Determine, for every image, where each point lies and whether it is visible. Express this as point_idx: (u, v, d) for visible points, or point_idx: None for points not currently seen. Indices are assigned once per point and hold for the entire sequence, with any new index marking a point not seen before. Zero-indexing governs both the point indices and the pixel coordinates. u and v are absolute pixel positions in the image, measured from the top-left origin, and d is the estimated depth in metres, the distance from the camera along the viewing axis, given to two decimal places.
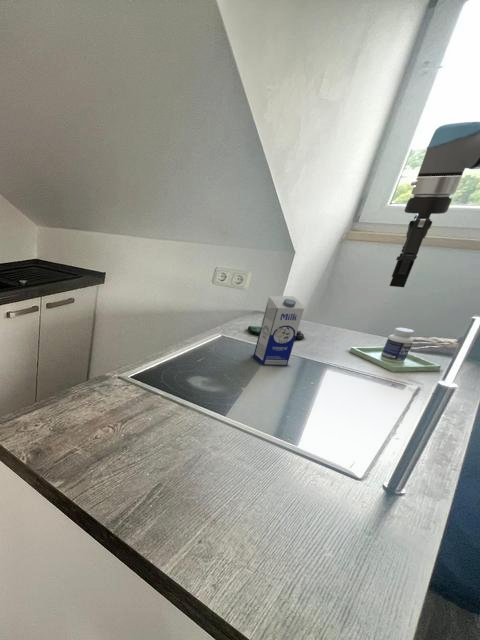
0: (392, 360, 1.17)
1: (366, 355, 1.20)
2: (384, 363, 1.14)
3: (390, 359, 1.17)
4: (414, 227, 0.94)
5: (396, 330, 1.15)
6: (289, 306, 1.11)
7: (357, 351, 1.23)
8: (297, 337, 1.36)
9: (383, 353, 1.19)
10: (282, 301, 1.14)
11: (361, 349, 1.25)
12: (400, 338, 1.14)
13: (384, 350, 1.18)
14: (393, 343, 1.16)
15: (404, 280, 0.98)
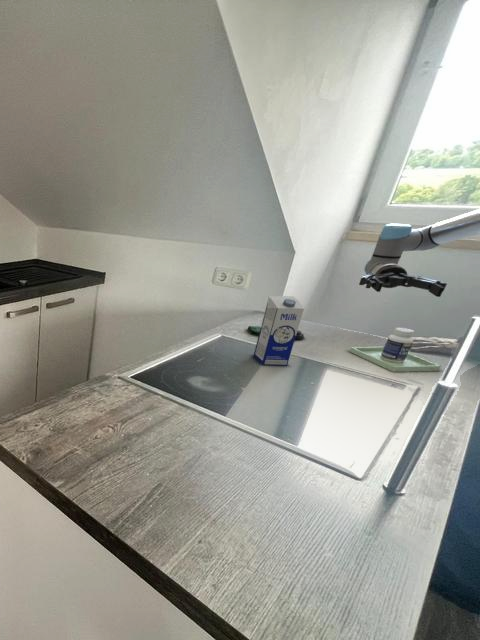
0: (392, 360, 1.17)
1: (366, 355, 1.20)
2: (384, 363, 1.14)
3: (390, 359, 1.17)
4: None
5: (396, 330, 1.15)
6: (289, 306, 1.11)
7: (357, 351, 1.23)
8: (297, 337, 1.36)
9: (383, 353, 1.19)
10: (282, 301, 1.14)
11: (361, 349, 1.25)
12: (400, 338, 1.14)
13: (384, 350, 1.18)
14: (393, 343, 1.16)
15: (378, 283, 1.22)
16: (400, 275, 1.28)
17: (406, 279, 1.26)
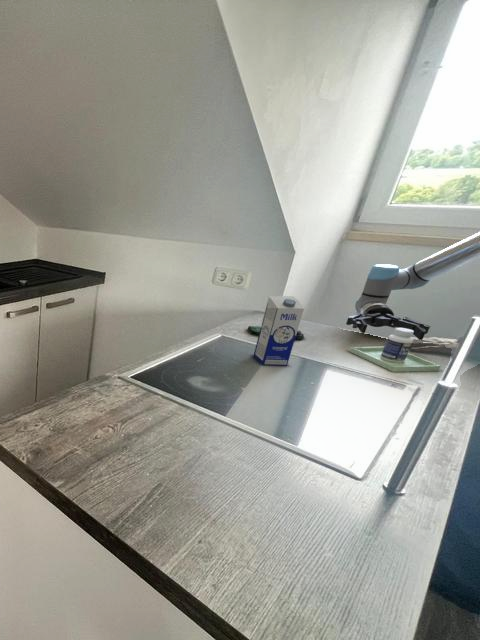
0: (392, 360, 1.17)
1: (366, 355, 1.20)
2: (384, 363, 1.14)
3: (390, 359, 1.17)
4: None
5: (396, 330, 1.15)
6: (289, 306, 1.11)
7: (357, 351, 1.23)
8: (297, 337, 1.36)
9: (383, 353, 1.19)
10: (282, 301, 1.14)
11: (361, 349, 1.25)
12: (400, 338, 1.14)
13: (384, 350, 1.18)
14: (393, 343, 1.16)
15: (362, 324, 1.27)
16: (386, 316, 1.32)
17: (392, 320, 1.31)
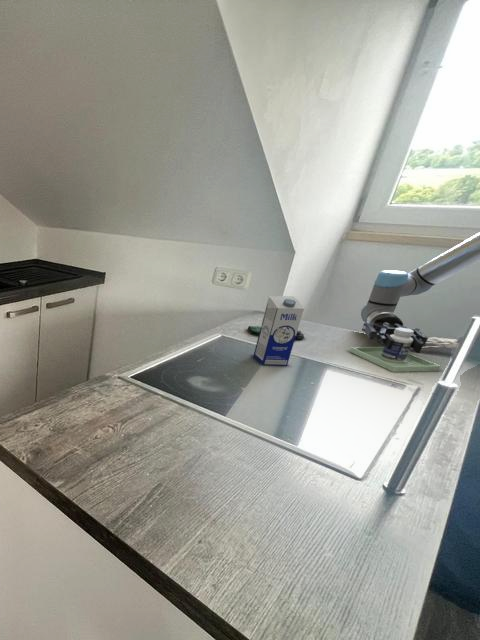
0: (392, 360, 1.17)
1: (366, 355, 1.20)
2: (384, 363, 1.14)
3: (390, 359, 1.17)
4: (364, 330, 1.27)
5: (396, 330, 1.15)
6: (289, 306, 1.11)
7: (357, 351, 1.23)
8: (297, 337, 1.36)
9: (383, 353, 1.19)
10: (282, 301, 1.14)
11: (361, 349, 1.25)
12: (400, 338, 1.14)
13: (384, 350, 1.18)
14: (393, 343, 1.16)
15: (388, 339, 1.15)
16: (395, 326, 1.24)
17: None
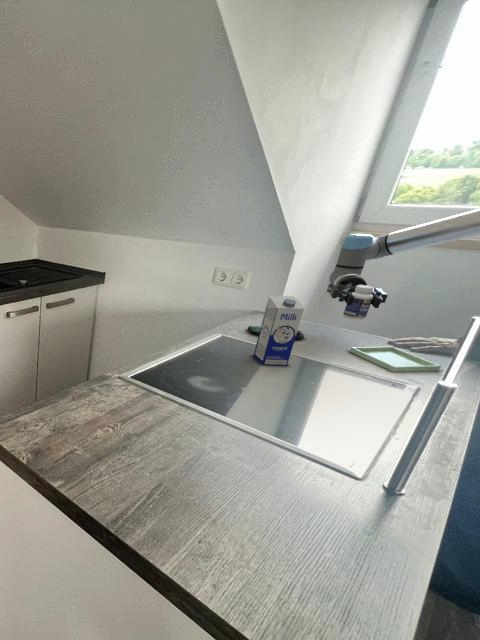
0: (353, 317, 1.18)
1: (366, 355, 1.20)
2: (384, 363, 1.14)
3: (351, 316, 1.19)
4: (329, 291, 1.29)
5: (357, 287, 1.17)
6: (289, 306, 1.11)
7: (357, 351, 1.23)
8: (297, 337, 1.36)
9: (345, 311, 1.20)
10: (282, 301, 1.14)
11: (361, 349, 1.25)
12: (360, 295, 1.16)
13: (346, 308, 1.20)
14: (354, 300, 1.17)
15: (349, 296, 1.16)
16: None
17: None
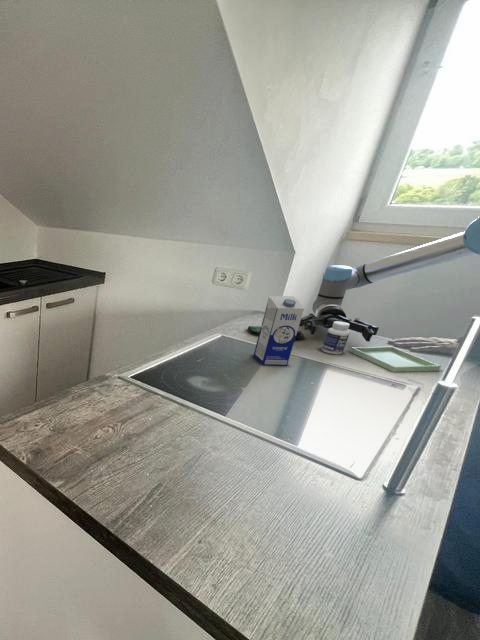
0: (331, 352, 1.24)
1: (366, 355, 1.20)
2: (384, 363, 1.14)
3: (329, 351, 1.25)
4: None
5: (334, 323, 1.23)
6: (289, 306, 1.11)
7: (357, 351, 1.23)
8: (297, 337, 1.36)
9: (323, 345, 1.26)
10: (282, 301, 1.14)
11: (361, 349, 1.25)
12: (337, 331, 1.22)
13: (324, 342, 1.26)
14: (331, 336, 1.23)
15: (312, 326, 1.25)
16: (338, 317, 1.31)
17: (343, 321, 1.29)
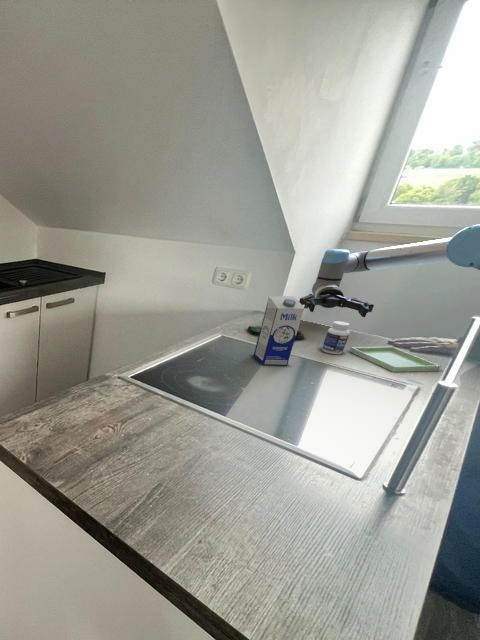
0: (331, 352, 1.24)
1: (366, 355, 1.20)
2: (384, 363, 1.14)
3: (329, 351, 1.25)
4: None
5: (334, 323, 1.23)
6: (289, 306, 1.11)
7: (357, 351, 1.23)
8: (297, 337, 1.36)
9: (323, 345, 1.26)
10: (282, 301, 1.14)
11: (361, 349, 1.25)
12: (337, 331, 1.22)
13: (324, 342, 1.26)
14: (331, 336, 1.23)
15: (311, 304, 1.34)
16: (336, 296, 1.39)
17: (341, 300, 1.38)
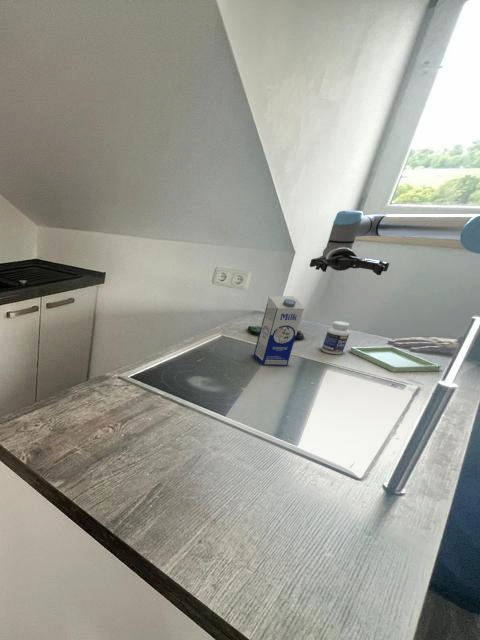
0: (331, 352, 1.24)
1: (366, 355, 1.20)
2: (384, 363, 1.14)
3: (329, 351, 1.25)
4: None
5: (334, 323, 1.23)
6: (289, 306, 1.11)
7: (357, 351, 1.23)
8: (297, 337, 1.36)
9: (323, 345, 1.26)
10: (282, 301, 1.14)
11: (361, 349, 1.25)
12: (337, 331, 1.22)
13: (324, 342, 1.26)
14: (331, 336, 1.23)
15: (324, 263, 1.28)
16: (349, 257, 1.34)
17: (354, 261, 1.32)
